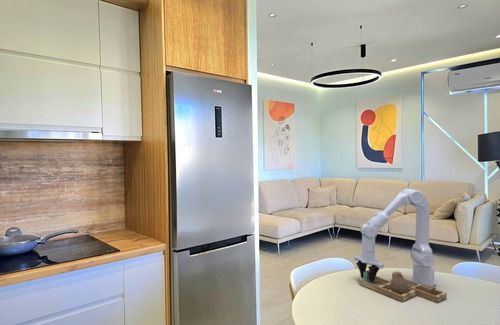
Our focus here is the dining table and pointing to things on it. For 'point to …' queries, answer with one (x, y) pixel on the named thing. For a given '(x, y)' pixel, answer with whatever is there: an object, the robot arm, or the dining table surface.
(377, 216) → the robot arm
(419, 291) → the frame
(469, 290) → the dining table surface
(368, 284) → the tray
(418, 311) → the dining table surface
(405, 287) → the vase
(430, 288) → the walnut cube
